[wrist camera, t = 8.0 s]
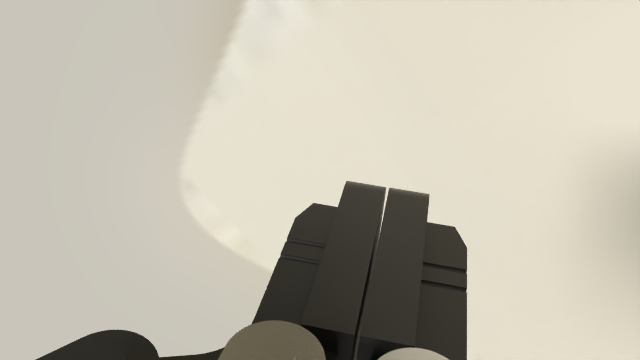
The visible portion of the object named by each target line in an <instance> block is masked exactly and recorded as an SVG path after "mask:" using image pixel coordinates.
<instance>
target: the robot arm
mask: <svg viewBox="0 0 640 360" xmlns="http://www.w3.org/2000/svg"><path fill="white" fill-rule="evenodd" d="M385 193H386V187H381V186H375V185H369V184H362V183H356V182H350V181H346V184H345V186H344V190H343V193H342V196H341V199H340V202H339V205H338V207H333V206H328V205H322V204H316V203H313V204H312V205H311V206H309V207H308V208H307V209H306V210H305V211H303V212H302V213H301V214H300V215H299V216H297V217H296V218H295V220H294V223H293V225H292V228H291V230H290V232H289V235H288V237H287V242H285V245H284V247H283V250H282V252H281V256H280V258H279V259H278V262H277V264H276V267H275V269H274V272H273V274H272V276H271V279H270V281H269V284H268V286H267V289H266V291H265V294H264V296H263V298H262V301H261V303H260V306H259V308H258V311H257V313H256V316H255V318H254V320H253V322H252V324H251V325H249V326H247V327H245V328H244V329H241V330H240V331H239V332H237V333H236V334H235V335H234V336H233V337H232V338H231V339H230V340H229V341H228V343H227V344H226V346H225V347H224V348H222V349H219V350H217V351H213V352H209V353H205V354H198V355H186V356H172V357H159V356H158V353H157V350H156V349H155V347H154V346H153V344H152V343H151V342H150V341H149V340H148V339H146V338H145V337H143V336H141V335H139V334H137V333H134V332H131V331H126V330H106V331H101V332H97V333H93V334H90V335H87V336H85V337H83V338H80V339H78V340H76V341H74V342H72V343H70V344H68V345H66V346H64V347H61V348H59V349H57V350H55V351H53V352H51V353H49V354H47V355H45V356H43V357H40V358H38V359H36V360H467V293H466V289H467V274H466V272H467V247H466V245H465V244H464V242H463V240H462V238H461V237H460V235H459V233H458V232H457V230H456V228H455V227H452V226H446V225H440V224H434V223H429V222H427V215H428V205H429V194H425V193H418V192H412V191H406V190H400V189H394V188H389V192H388V197H387V202H386V207H385V212H384V217H383V222H382V227H381V221H382V214H383V207H384V200H385ZM380 228H381V232H380ZM379 235H380V237H379Z"/></svg>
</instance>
